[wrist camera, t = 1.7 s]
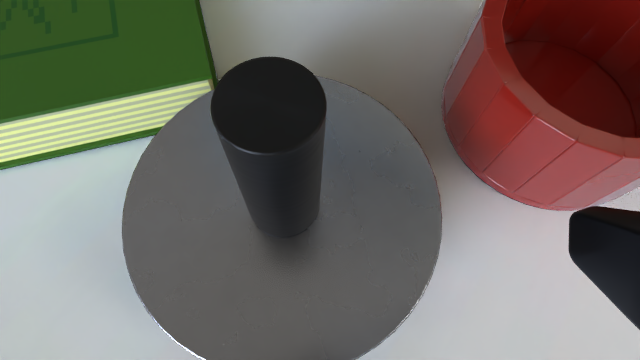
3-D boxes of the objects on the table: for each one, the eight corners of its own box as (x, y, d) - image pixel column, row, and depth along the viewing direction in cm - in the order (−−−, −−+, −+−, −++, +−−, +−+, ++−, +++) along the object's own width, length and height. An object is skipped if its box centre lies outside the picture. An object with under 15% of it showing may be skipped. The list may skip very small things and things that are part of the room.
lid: (500, 254, 17) (648, 175, 10) (222, 457, 14) (128, 567, 7) (327, 42, 21) (338, -129, 14) (81, 167, 18) (-77, 35, 11)
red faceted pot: (687, 143, 23) (809, 74, 17) (541, 253, 20) (629, 213, 15) (541, 9, 26) (604, -84, 21) (400, 89, 24) (429, 7, 18)
